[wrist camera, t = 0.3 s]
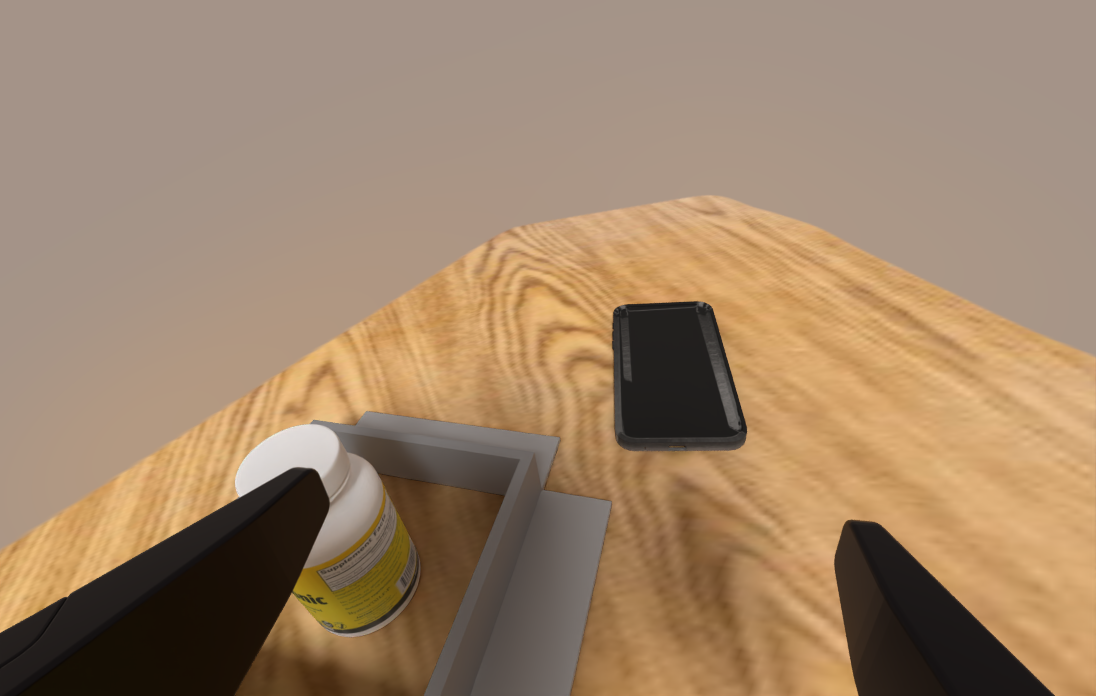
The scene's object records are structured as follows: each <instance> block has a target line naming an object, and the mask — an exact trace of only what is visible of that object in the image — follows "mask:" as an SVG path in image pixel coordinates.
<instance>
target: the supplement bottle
mask: <svg viewBox="0 0 1096 696" xmlns="http://www.w3.org/2000/svg"><path fill="white" fill-rule="evenodd" d="M294 467H305V468H313V469H315V470H316V471H317V472H318V473H319V475H320V477H321V480H322V482H323V484H324V487H325V489H326V492H327V494H328V496H329V499H330V507H329V511H328V514H327V516H326V519H325V521H324V523H323V525H322V528H321V530H320V532H319V534H318V537H317V539H316V541H315V543H314V545H313V548H312V550H311V552H310V554H309V557H308V559H307V561H306V563H305V566H304V568H303V570H302V572H301V575H300V577H299V579H298V581H297V583H296V585H295V587H294V589H293V591H292V593H293V594H294V595H295V596H296V598H297V599H298V600H299V601H300V602H301V603H302V604H303V605H304V607H305V608H306V609H307V610H308V611H309V612H310V613H311V614H312V616H313V617H314V618H315V619H316V620H317V621H318V622H319V623H320V624H321V625H322V626H323V627H324V628H325V629H326V630H328V631H329V632H331V633H333V634H336V635H339V636H343V637H358V636H363V635H367V634H370V633H372V632H375V631H377V630H379V629H381V628H382V627H384V626H386V625H387V624H389V623H390V622H391V621H392V620H394V619H395V618H396V617H397V616H398V615H399V614H400V613H401V612H402V611H403V610H404V609H405V607H406V606H407V605H408V603H409V602H410V601H411V599H412V597H413V595H414V593H415V591H416V589H417V586H418V582H419V578H420V570H421V568H420V559H419V555H418V552H417V550H416V547H415V545H414V543H413V541H412V539H411V538H410V536H409V534H408V532H407V530H406V528H405V526H404V524H403V522H402V520H401V518H400V516H399V514H398V512H397V510H396V508H395V507H394V505H393V503H392V501H391V499H390V497H389V495H388V493H387V491H386V489H385V486H384V484H383V482H382V481H381V479H380V477H379V475H378V474H377V472H376V470H375V469H374V467H373V466H372V465H371V464H370V463H369V462H368V461H366V460H365V459H364V458H362V457H360V456H358V455H355V454H352V453H347V451H346V450H345V448H344V446H343V444H342V443H341V441H340V439H339V437H338V436H337V435H336V433H335V432H334V431H332V430H331V429H330V428H328V427H325V426H322V425H317V424H305V425H298V426H294V427H291V428H287V429H285V430H282V431H280V432H278V433H276V434H274V435H272V436H270V437H269V438H267V439H266V440H264V441H263V442H261V443H260V444H259V445H258V446H256V447H255V448H254V449H253V450H252V451H251V452H250V453H249V454H248V455H247V456H246V458H245V459H244V460H243V462H242V464H241V465H240V467H239V469H238V471H237V474H236V479H235V487H236V491H237V493H238V495H239V497H241V496H243V495H245V494H247V493H248V492H250V491H252V490H254V489H255V488H257V487H259V486H261V485H262V484H264V483H266V482H268V481H269V480H271V479H273V478H275V477H277V476H278V475H280V474H282V473H284V472H285V471H287V470H289V469H291V468H294Z"/></svg>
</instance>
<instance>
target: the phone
mask: <svg viewBox="0 0 1096 696" xmlns="http://www.w3.org/2000/svg"><path fill="white" fill-rule="evenodd" d="M613 318H614V323H613V329H614V331H613V340H614V341H612V344H613V350H614V388H615V436H616V441H617V443H618V444H619V445H620V446H621V447H623V448H624V449H627V450H630V451H729V450H736V449H738V448H740V447H741V446H742V445H744V443H745V440H746V435H747V426H746V423H745V419H744V416H743V412H742V409H741V405H740V402H739V398H738V395H737V391H736V388H735V384H734V381H733V377H732V374H731V370H730V367H729V364H728V360H727V357H726V353H725V350H724V346H723V343H722V339H721V336H720V332H719V329H718V325H717V322H716V318H715V315H714V312H713V308H712V307H711V306H710V305H709V304H707V303H705V302H698V301H694V302H671V303H649V304H627V305H622V306H619V307H617V308H616V309H615V310H614V313H613ZM669 446H685V448H669ZM644 447H646V449H644Z"/></svg>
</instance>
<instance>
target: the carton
mask: <svg viewBox="0 0 1096 696" xmlns="http://www.w3.org/2000/svg"><path fill="white" fill-rule="evenodd" d="M310 424H317V425H322V426H325V427H328V428H330V429H331V430H332V431H334V432H335V433H336V435H337V436H338V437H339V439H340V441H341V443H342V444H343V446H344V448H345V450H346V451H347V453H352V454H355V455H358V456H360V457H362V458H364V459H365V460H366V461H368V462H369V463H370V464H371V465H372V466H373V467H374V469H375V470H376V472H377V473H379V474H384V475H390V476H396V477H401V478H407V479H413V480H419V481H424V482H430V483H436V484H441V485H447V486H453V487H459V488H464V489H470V490H476V491H481V492H487V493H493V494H499V495H504V496H505V498H504V500H503V503H502V505H501V507H500V510H499V512H498V515H497V517H496V520H495V522H494V525H493V527H492V529H491V532H490V534H489V537H488V539H487V542H486V544H485V547H484V549H483V552H482V554H481V556H480V559H479V561H478V564H477V566H476V569H475V571H474V574H473V576H472V578H471V581H470V583H469V586H468V588H467V591H466V593H465V596H464V598H463V601H462V603H461V605H460V608H459V610H458V613H457V615H456V618H455V620H454V623H453V625H452V627H451V630H450V632H449V635H448V637H447V640H446V642H445V645H444V647H443V649H442V652H441V654H440V657H439V659H438V662H437V664H436V667H435V669H434V672H433V674H432V676H431V679H430V681H429V684H428V686H427V689H426V691H425V694H424V696H570V695H571V690H572V686H573V681H574V677H575V672H576V667H577V663H578V658H579V654H580V649H581V644H582V640H583V635H584V631H585V626H586V621H587V617H588V612H589V608H590V603H591V598H592V594H593V589H594V585H595V580H596V575H597V571H598V566H599V562H600V557H601V552H602V548H603V543H604V539H605V534H606V529H607V525H608V520H609V515H610V511H611V506H612V501H607V500H601V499H595V498H589V497H583V496H577V495H571V494H565V493H559V492H553V491H547V490H544V487H545V484H546V481H547V478H548V475H549V472H550V470H551V467H552V464H553V461H554V458H555V455H556V452H557V449H558V446H559V443H560V437H553V436H545V435H538V434H531V433H523V432H516V431H509V430H501V429H494V428H486V427H479V426H472V425H464V424H457V423H450V422H442V421H435V420H427V419H420V418H413V417H405V416H398V415H391V414H383V413H376V412H368V411H366V412H365V414H364V415H363V416H362V417H361V419H360V420H359V421H358V423H357V424H356V425H355V426H353V425H346V424H339V423H332V422H325V421H318V420H313V421H312V422H311V423H310ZM238 498H240V497H238ZM238 498H237V499H238Z"/></svg>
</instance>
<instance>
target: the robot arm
mask: <svg viewBox="0 0 1096 696" xmlns="http://www.w3.org/2000/svg"><path fill="white" fill-rule="evenodd" d="M329 507H330V499H329V496H328V494H327V492H326V489H325V487H324V484H323V482H322V480H321V477H320V475H319V473H318V472H317V471H316V470H315V469H313V468H305V467H294V468H291V469H289V470H287V471H285V472H284V473H282V474H280V475H278V476H277V477H275V478H273V479H271V480H269V481H268V482H266V483H264V484H262V485H261V486H259V487H257V488H255V489H254V490H252V491H250V492H248V493H247V494H245V495H243V496H241V497H240V498H238V499H236V500H234V501H233V502H231V503H229V504H227V505H226V506H224V507H222V508H220V509H218V510H217V511H215V512H213V513H211V514H210V515H208V516H206V517H204V518H203V519H201V520H199V521H197V522H196V523H194V524H192V525H190V526H189V527H187V528H185V529H183V530H182V531H180V532H178V533H176V534H174V535H173V536H171V537H169V538H167V539H166V540H164V541H162V542H160V543H159V544H157V545H155V546H153V547H152V548H150V549H148V550H146V551H145V552H143V553H141V554H139V555H138V556H136V557H134V558H132V559H131V560H129V561H127V562H125V563H123V564H122V565H120V566H118V567H116V568H115V569H113V570H111V571H109V572H108V573H106V574H104V575H102V576H101V577H99V578H97V579H95V580H94V581H92V582H90V583H88V584H87V585H85V586H83V587H81V588H79V589H78V590H76V591H74V592H72V593H71V594H70V595H69V596H68V597H64V598H62V599H60V600H58V601H56V602H55V603H53V604H51V605H49V606H48V607H46V608H44V609H42V610H41V611H39V612H37V613H35V614H34V615H32V616H30V617H28V618H26V619H25V620H23V621H21V622H19V623H17V624H16V625H14V626H12V627H10V628H8V629H7V630H5V631H3V632H1V633H0V696H234V695H235V694H236V692H237V690H238V688H239V686H240V685H241V683H242V681H243V679H244V677H245V676H246V674H247V672H248V670H249V669H250V667H251V665H252V663H253V661H254V660H255V658H256V656H257V654H258V652H259V651H260V649H261V647H262V645H263V644H264V642H265V640H266V638H267V636H268V635H269V633H270V631H271V629H272V627H273V626H274V624H275V622H276V620H277V619H278V617H279V615H280V613H281V611H282V610H283V608H284V606H285V604H286V602H287V601H288V599H289V597H290V595H291V593H292V591H293V589H294V587H295V585H296V583H297V581H298V579H299V577H300V575H301V572H302V570H303V568H304V566H305V563H306V561H307V559H308V557H309V554H310V552H311V550H312V548H313V545H314V543H315V541H316V539H317V537H318V534H319V532H320V530H321V528H322V525H323V523H324V521H325V519H326V516H327V514H328V511H329ZM834 566H835V574H836V580H837V586H838V592H839V597H840V603H841V609H842V615H843V620H844V626H845V632H846V637H847V643H848V649H849V655H850V660H851V665H852V670H853V676H854V680H855V684H856V687H857V691H858V695H859V696H1055V695H1054V694H1053V693H1052V692H1051V691H1050V690H1049V689H1047V688H1046V687H1045V686H1044V685H1043V684H1042V683H1041V682H1040V681H1039V680H1038V679H1037V678H1036V677H1035V676H1034V675H1033V674H1032V673H1031V672H1030V671H1029V670H1028V669H1027V668H1026V667H1025V666H1024V665H1023V664H1022V663H1021V662H1020V661H1019V660H1018V659H1017V658H1016V657H1015V656H1014V655H1013V654H1012V653H1011V652H1010V651H1009V650H1008V649H1007V648H1006V647H1005V646H1004V645H1003V644H1002V643H1001V642H1000V641H999V640H998V639H997V638H996V637H995V636H994V635H993V634H992V633H990V632H989V631H988V630H987V629H986V628H985V627H984V626H983V625H982V624H981V623H980V622H979V621H978V620H977V619H976V618H975V617H974V616H973V615H972V614H971V613H970V612H969V611H968V610H967V609H966V608H965V607H964V606H963V605H962V604H961V603H960V602H959V601H958V600H957V599H956V598H955V597H954V596H953V595H952V594H951V593H950V592H949V591H948V590H947V589H946V588H945V587H944V586H943V585H942V584H941V583H940V582H939V581H938V580H937V579H936V578H935V577H933V576H932V575H931V574H930V573H929V572H928V571H927V570H926V569H925V568H924V567H923V566H922V565H921V564H920V563H919V562H918V561H917V560H916V559H915V558H914V557H913V556H912V555H911V554H910V553H909V552H908V551H907V550H906V549H905V548H904V547H903V546H902V545H901V544H900V543H899V542H898V541H897V540H896V539H895V538H894V537H893V536H892V535H891V534H890V533H889V532H888V531H887V530H886V529H885V528H884V527H882V526H881V525H880V524H878V523H876V522H871V521H860V520H848V521H846V522H845V524H844V526H843V529H842V533H841V536H840V540H839V543H838V546H837V550H836V553H835V560H834Z"/></svg>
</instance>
